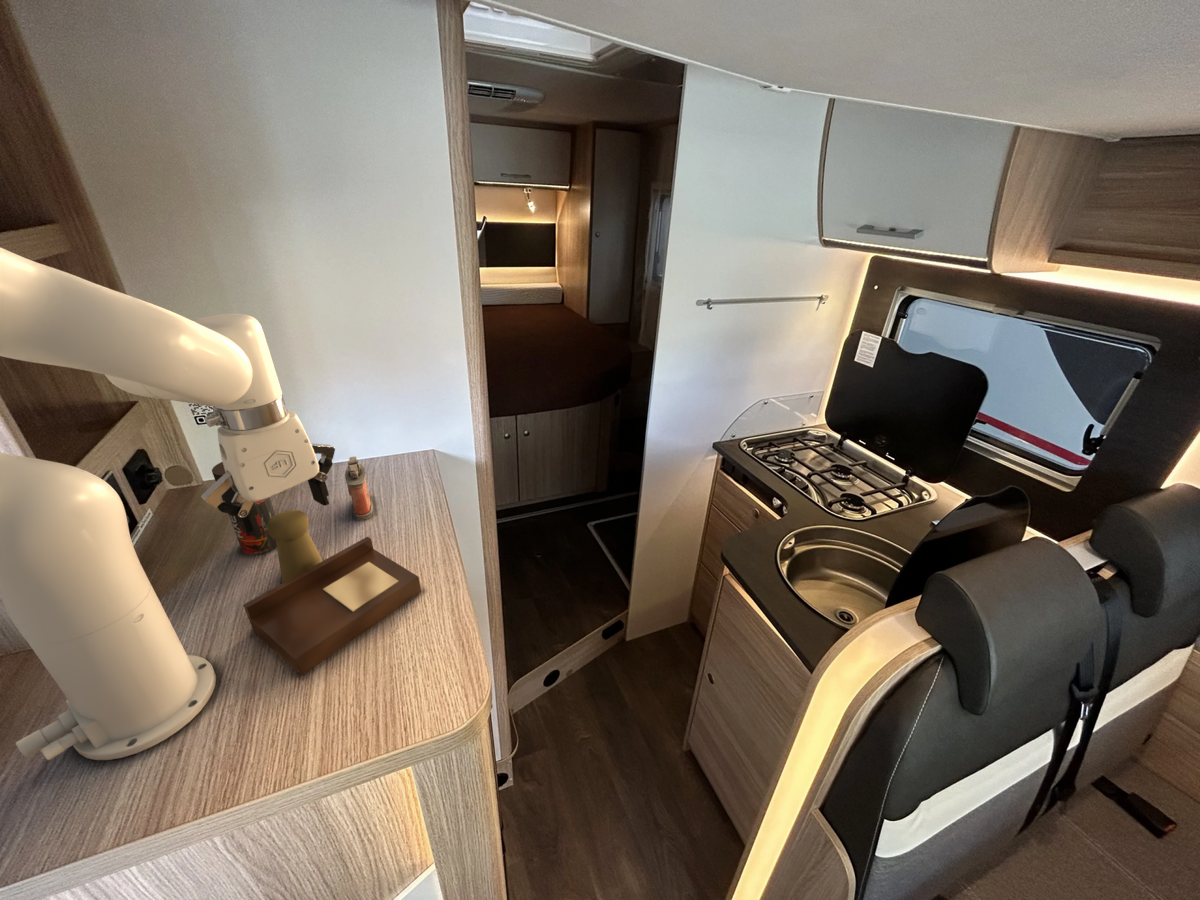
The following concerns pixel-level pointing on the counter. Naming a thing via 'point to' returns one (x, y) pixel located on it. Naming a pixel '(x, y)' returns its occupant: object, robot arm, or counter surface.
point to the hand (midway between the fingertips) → (289, 517)
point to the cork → (293, 543)
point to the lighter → (358, 489)
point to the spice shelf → (330, 604)
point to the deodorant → (263, 515)
